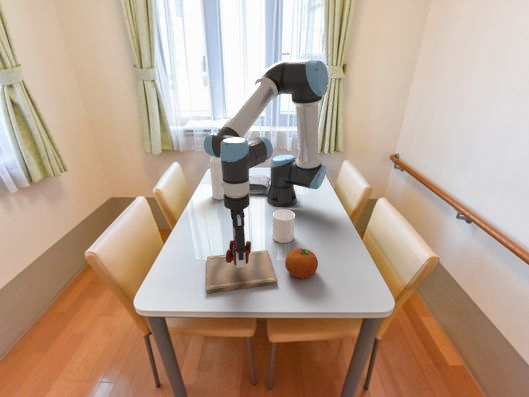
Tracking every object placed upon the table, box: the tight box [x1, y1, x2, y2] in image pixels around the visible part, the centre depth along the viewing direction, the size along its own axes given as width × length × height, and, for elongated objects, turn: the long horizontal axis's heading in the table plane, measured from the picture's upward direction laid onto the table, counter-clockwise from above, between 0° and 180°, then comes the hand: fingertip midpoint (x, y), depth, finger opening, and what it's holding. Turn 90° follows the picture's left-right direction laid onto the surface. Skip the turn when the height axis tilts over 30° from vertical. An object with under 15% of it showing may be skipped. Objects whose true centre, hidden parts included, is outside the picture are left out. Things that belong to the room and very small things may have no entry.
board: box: [205, 249, 278, 294], centre depth 89 cm, size 22×16×2 cm
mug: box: [272, 208, 296, 244], centre depth 107 cm, size 9×12×11 cm
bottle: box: [209, 156, 224, 200], centre depth 134 cm, size 8×8×30 cm
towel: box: [249, 174, 271, 196], centre depth 147 cm, size 15×18×8 cm
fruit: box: [284, 247, 319, 280], centre depth 87 cm, size 11×10×8 cm
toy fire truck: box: [225, 238, 252, 265], centre depth 84 cm, size 7×12×10 cm, turn 175°
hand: (239, 253), depth 86 cm, fingers closed on toy fire truck, 12 cm apart
